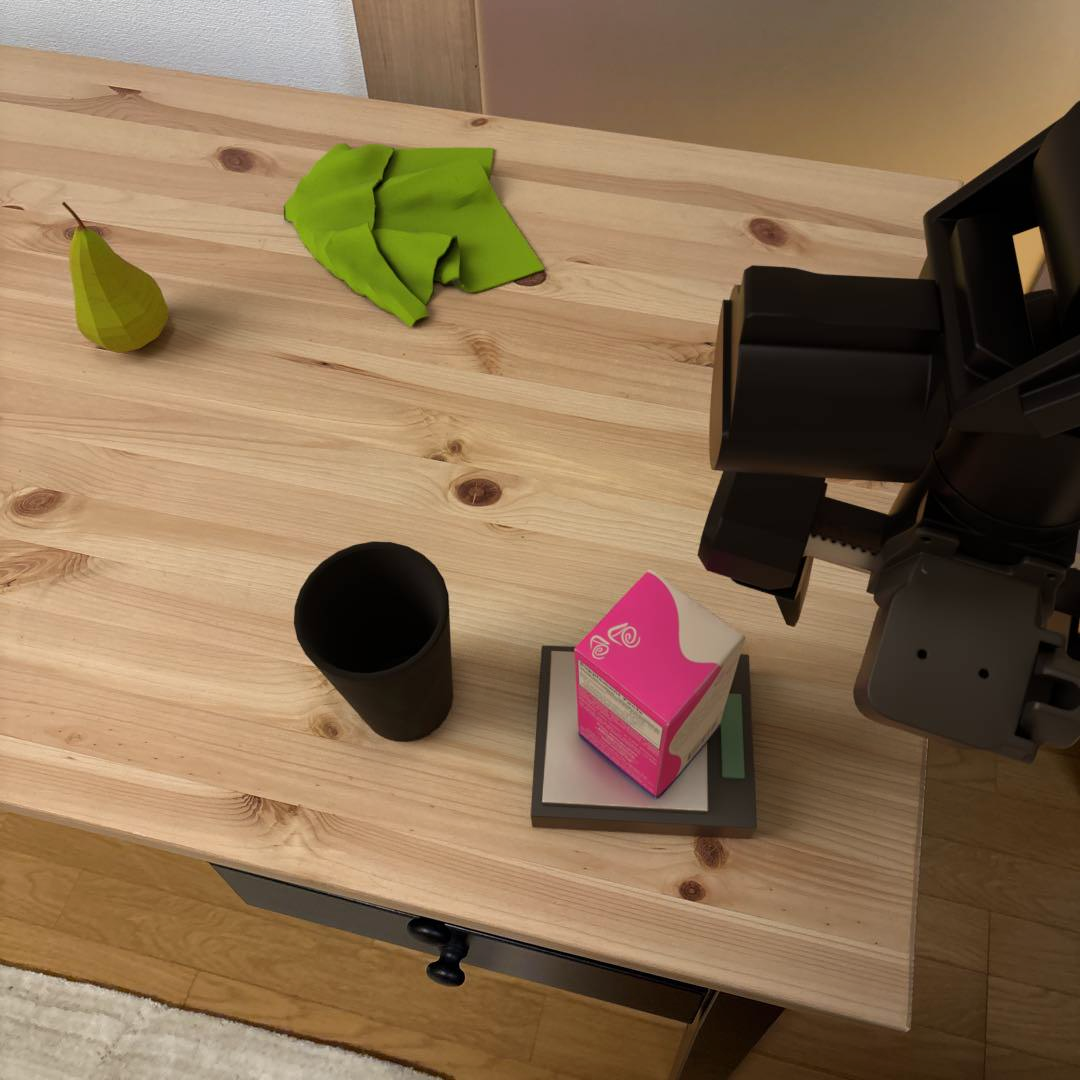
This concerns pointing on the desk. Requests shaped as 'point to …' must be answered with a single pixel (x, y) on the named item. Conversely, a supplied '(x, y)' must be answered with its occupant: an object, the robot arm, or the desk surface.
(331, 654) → the cup
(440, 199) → the cloth
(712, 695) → the supplement box
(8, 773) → the desk surface
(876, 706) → the robot arm
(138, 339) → the fruit
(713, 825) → the scale
